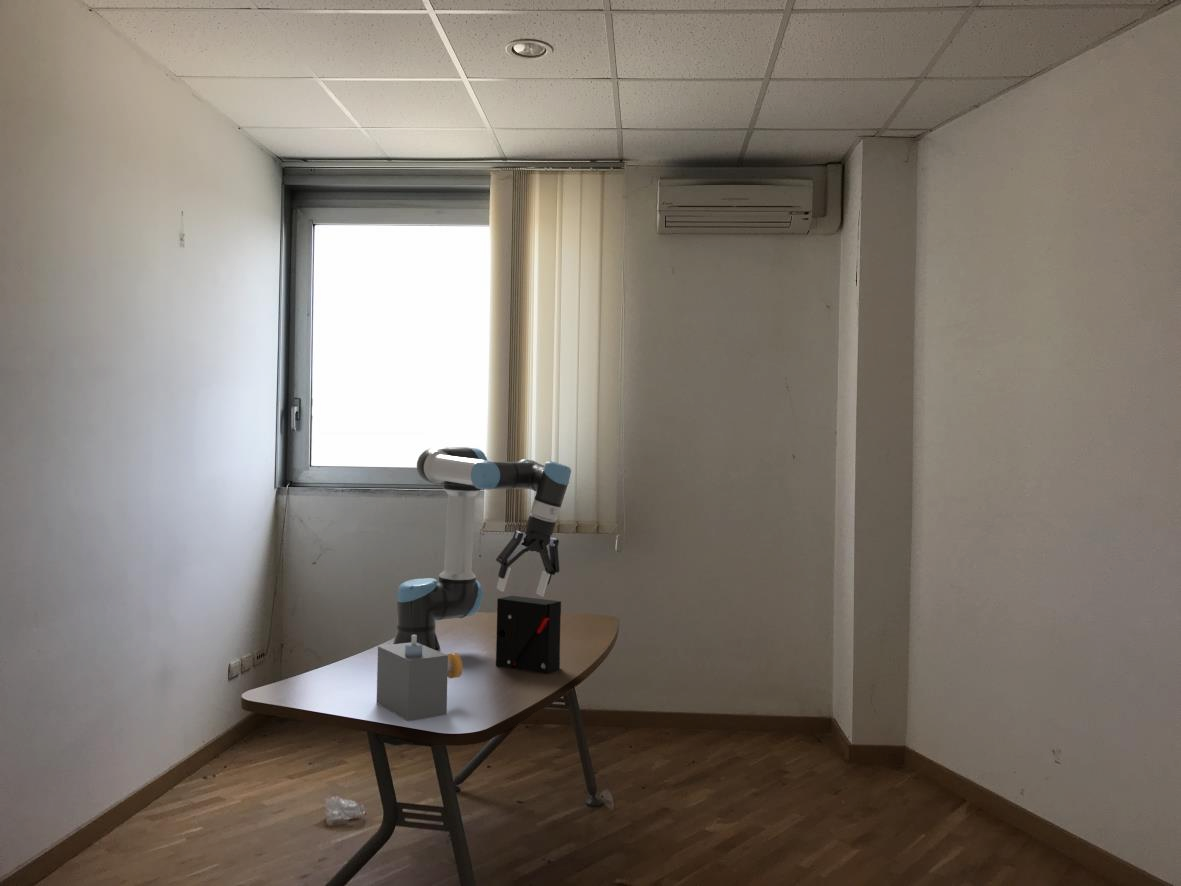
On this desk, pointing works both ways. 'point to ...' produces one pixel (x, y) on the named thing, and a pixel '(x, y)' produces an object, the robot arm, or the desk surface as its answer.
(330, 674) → the desk surface
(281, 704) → the desk surface
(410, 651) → the knob
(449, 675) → the knob
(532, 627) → the electrical component
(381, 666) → the housing
